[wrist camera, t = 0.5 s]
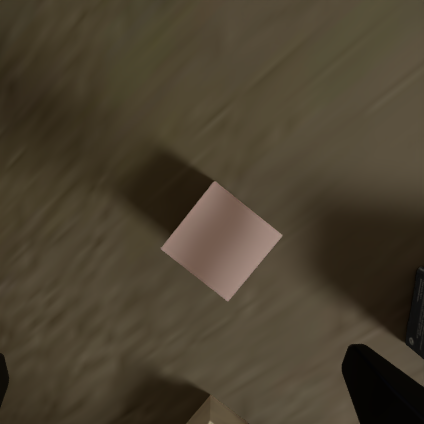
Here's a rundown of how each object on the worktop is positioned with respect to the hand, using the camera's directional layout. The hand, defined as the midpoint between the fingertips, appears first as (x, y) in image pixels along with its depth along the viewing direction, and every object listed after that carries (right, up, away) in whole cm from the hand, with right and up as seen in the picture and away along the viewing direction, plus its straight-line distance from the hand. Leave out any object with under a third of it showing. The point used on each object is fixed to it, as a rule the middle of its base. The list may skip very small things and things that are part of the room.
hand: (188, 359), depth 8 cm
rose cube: (+1, +3, +15) cm, 15 cm away
